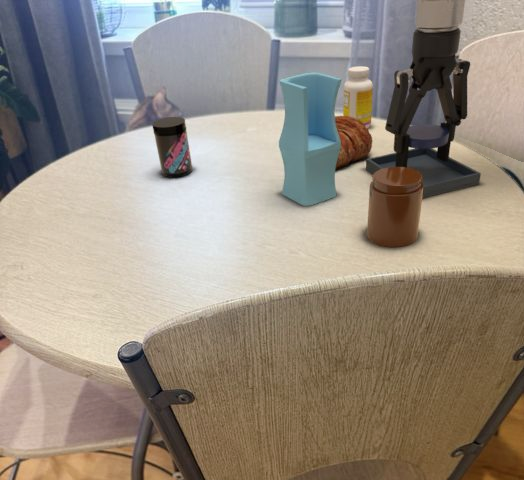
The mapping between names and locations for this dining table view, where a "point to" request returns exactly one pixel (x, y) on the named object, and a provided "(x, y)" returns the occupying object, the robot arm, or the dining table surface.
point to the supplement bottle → (358, 95)
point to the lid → (427, 136)
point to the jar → (394, 206)
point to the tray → (431, 170)
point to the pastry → (352, 140)
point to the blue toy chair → (309, 137)
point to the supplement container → (172, 146)
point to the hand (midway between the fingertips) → (421, 163)
